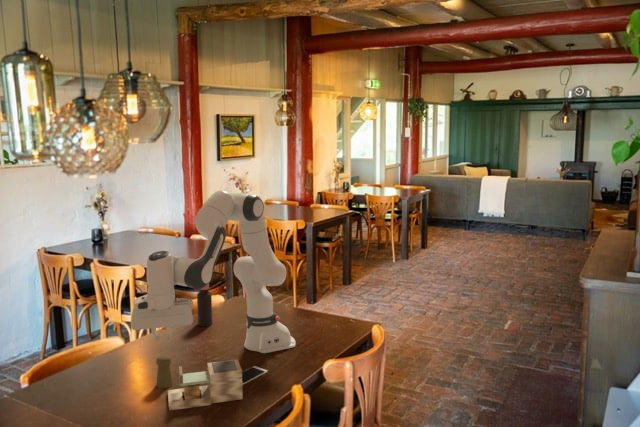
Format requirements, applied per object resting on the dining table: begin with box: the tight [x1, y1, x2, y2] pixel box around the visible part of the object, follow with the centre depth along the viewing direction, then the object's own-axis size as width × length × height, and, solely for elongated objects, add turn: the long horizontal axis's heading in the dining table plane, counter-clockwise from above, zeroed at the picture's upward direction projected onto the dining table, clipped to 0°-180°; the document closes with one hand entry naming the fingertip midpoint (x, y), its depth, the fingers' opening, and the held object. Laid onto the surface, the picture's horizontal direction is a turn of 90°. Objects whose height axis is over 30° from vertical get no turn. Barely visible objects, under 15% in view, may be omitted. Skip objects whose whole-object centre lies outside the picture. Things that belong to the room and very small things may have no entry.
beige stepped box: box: [167, 359, 243, 411], centre depth 193 cm, size 25×12×11 cm, turn 107°
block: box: [183, 384, 201, 400], centre depth 193 cm, size 5×5×6 cm
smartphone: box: [242, 365, 269, 386], centre depth 212 cm, size 8×1×15 cm
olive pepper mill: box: [155, 354, 174, 389], centre depth 203 cm, size 6×6×11 cm
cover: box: [178, 365, 210, 387], centre depth 192 cm, size 14×7×4 cm, turn 107°
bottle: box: [196, 283, 213, 327], centre depth 265 cm, size 7×7×20 cm
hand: (163, 339), depth 187 cm, fingers closed
